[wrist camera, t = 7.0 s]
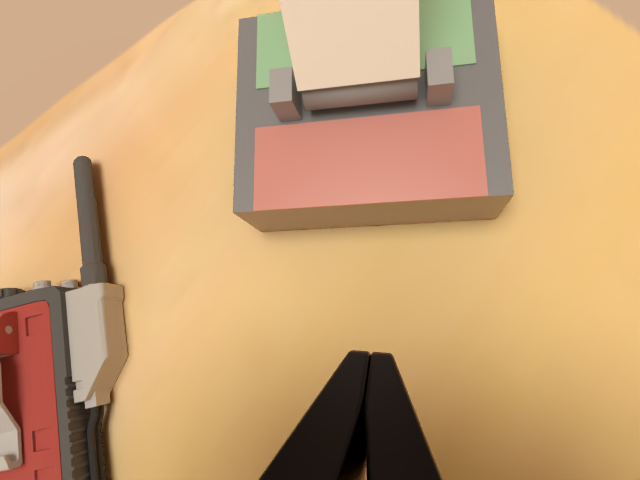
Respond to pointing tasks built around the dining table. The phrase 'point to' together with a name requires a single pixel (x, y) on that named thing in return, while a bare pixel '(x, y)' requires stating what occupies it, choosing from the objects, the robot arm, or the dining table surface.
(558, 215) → the dining table surface
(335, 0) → the breaker lever
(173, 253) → the dining table surface
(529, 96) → the dining table surface
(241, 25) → the breaker housing
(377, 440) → the robot arm
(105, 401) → the walkie-talkie
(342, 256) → the dining table surface
